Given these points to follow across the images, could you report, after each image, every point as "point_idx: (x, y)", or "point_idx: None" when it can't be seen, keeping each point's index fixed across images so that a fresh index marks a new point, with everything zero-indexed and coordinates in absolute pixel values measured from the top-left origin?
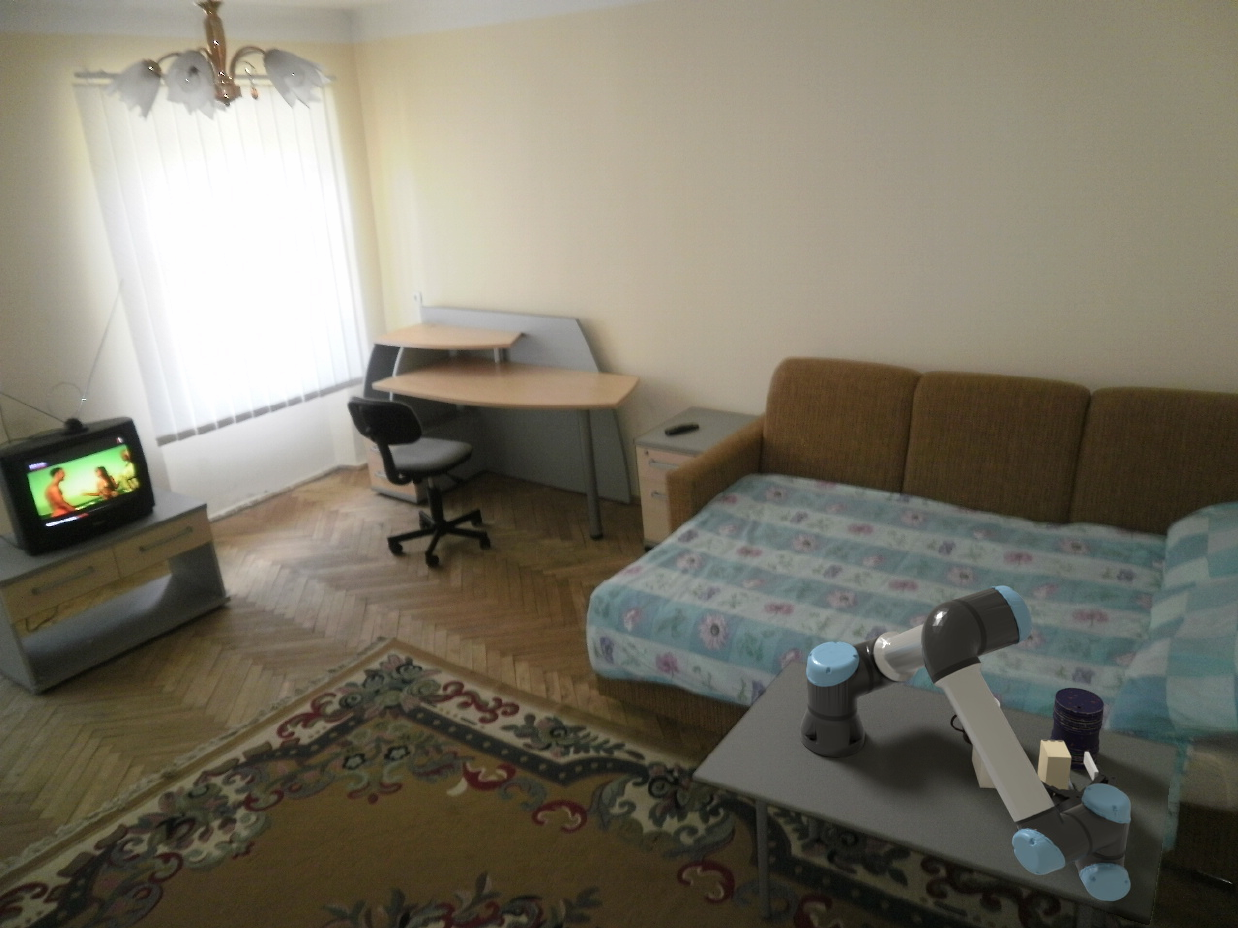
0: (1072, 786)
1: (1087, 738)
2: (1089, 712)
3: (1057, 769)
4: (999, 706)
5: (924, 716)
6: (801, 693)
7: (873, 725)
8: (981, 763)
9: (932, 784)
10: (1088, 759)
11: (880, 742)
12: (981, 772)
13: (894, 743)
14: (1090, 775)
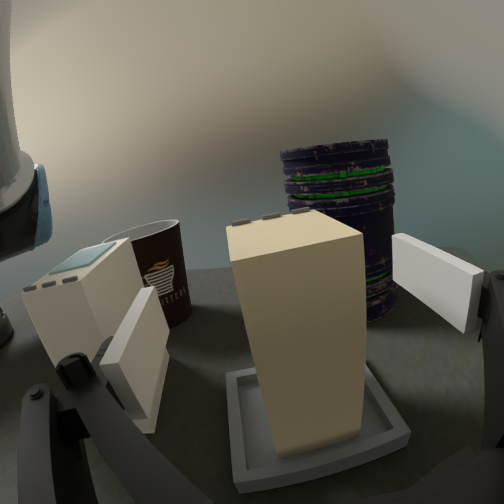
0: (370, 373)
1: (376, 227)
2: (364, 142)
3: (305, 331)
4: (173, 225)
5: None
6: (8, 305)
7: (31, 326)
8: (56, 365)
9: (12, 424)
10: (417, 248)
11: (15, 348)
12: None
13: (29, 347)
14: (439, 310)
